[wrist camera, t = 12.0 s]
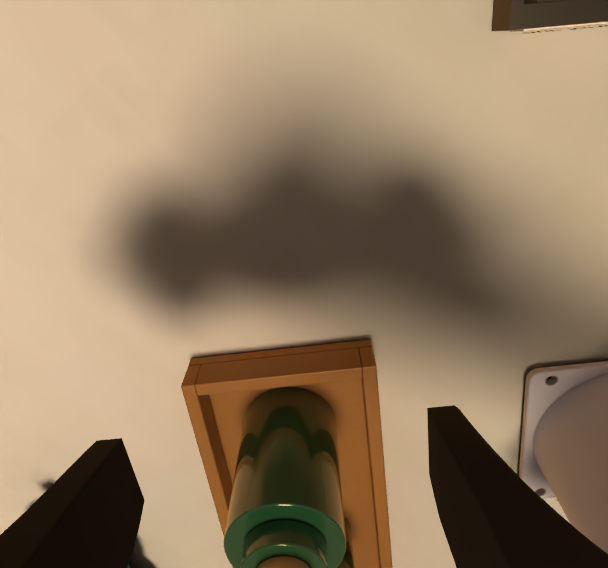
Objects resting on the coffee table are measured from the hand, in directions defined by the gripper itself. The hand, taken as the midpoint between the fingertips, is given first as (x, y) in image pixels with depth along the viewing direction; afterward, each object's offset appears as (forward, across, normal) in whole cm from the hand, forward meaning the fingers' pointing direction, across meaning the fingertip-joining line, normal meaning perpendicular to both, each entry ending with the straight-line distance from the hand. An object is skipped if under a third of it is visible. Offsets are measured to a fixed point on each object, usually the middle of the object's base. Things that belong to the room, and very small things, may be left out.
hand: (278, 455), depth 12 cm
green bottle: (+10, +1, +8) cm, 12 cm away
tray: (+10, +1, +15) cm, 18 cm away
